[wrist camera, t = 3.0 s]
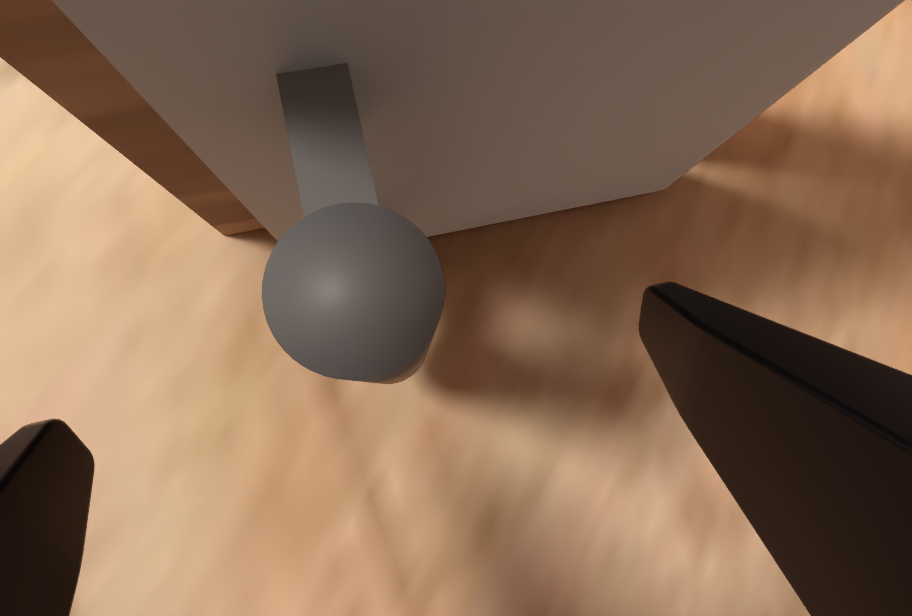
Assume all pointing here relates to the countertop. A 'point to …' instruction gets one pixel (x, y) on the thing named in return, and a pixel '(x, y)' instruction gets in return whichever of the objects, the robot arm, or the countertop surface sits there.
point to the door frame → (112, 108)
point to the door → (443, 127)
